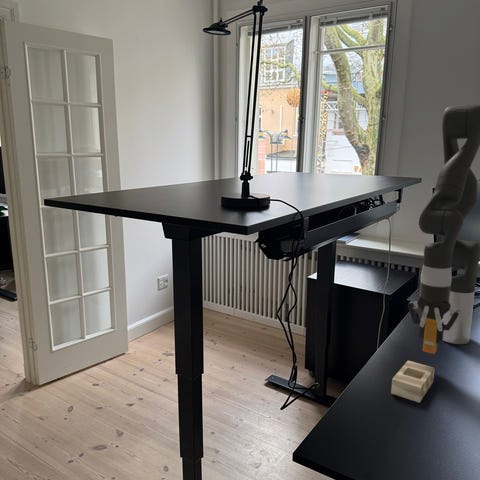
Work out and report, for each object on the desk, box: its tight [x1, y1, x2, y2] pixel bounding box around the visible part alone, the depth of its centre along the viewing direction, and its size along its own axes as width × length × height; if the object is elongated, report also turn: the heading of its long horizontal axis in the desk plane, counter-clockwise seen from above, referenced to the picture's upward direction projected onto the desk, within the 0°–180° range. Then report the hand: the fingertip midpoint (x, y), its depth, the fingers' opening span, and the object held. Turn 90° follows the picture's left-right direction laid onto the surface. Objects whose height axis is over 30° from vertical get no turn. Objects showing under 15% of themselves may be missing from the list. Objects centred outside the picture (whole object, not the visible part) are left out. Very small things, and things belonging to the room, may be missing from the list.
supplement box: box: [422, 317, 438, 355], centre depth 123 cm, size 3×3×10 cm
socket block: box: [390, 360, 435, 404], centre depth 115 cm, size 13×7×4 cm, turn 143°
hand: (430, 340), depth 123 cm, fingers closed on supplement box, 3 cm apart
